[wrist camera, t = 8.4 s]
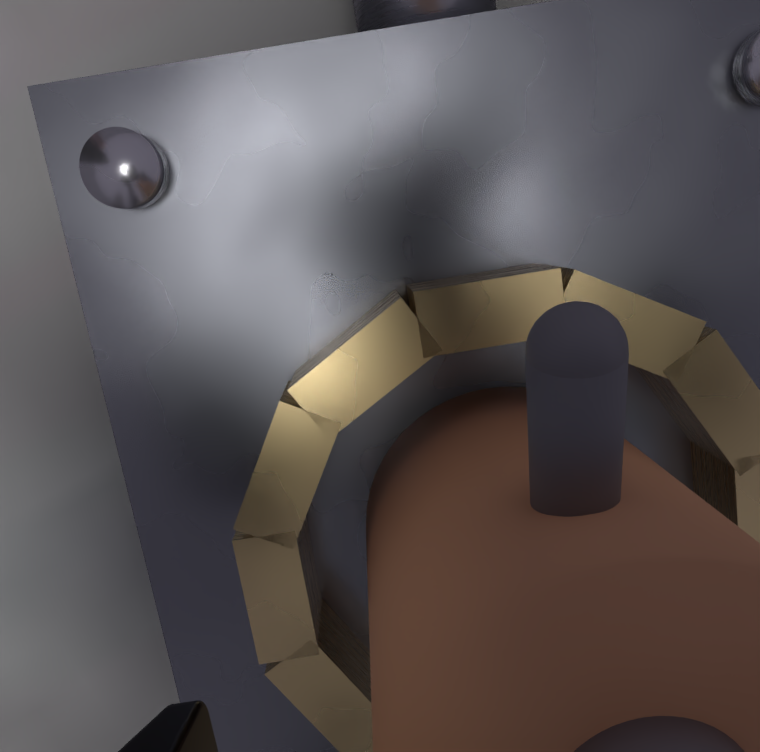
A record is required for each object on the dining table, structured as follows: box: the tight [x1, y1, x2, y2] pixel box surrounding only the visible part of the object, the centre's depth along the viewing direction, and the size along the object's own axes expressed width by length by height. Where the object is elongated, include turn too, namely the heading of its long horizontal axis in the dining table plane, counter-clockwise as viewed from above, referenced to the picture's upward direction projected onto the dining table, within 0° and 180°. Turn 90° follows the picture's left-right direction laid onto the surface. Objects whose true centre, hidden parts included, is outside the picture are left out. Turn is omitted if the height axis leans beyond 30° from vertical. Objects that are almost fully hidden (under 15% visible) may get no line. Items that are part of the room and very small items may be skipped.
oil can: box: [366, 301, 760, 752], centre depth 9 cm, size 7×5×7 cm
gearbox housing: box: [27, 0, 760, 752], centre depth 13 cm, size 20×13×4 cm, turn 9°
